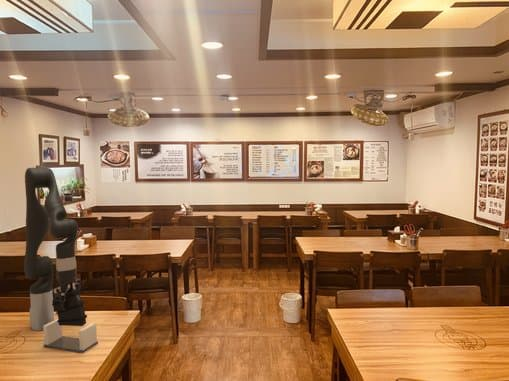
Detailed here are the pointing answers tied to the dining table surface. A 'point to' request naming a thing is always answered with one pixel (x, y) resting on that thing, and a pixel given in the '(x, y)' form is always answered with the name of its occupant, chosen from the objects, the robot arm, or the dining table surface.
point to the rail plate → (68, 344)
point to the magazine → (71, 310)
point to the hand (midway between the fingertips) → (68, 307)
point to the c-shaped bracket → (85, 334)
